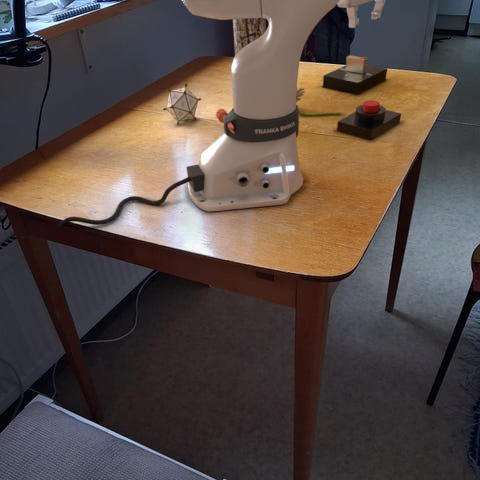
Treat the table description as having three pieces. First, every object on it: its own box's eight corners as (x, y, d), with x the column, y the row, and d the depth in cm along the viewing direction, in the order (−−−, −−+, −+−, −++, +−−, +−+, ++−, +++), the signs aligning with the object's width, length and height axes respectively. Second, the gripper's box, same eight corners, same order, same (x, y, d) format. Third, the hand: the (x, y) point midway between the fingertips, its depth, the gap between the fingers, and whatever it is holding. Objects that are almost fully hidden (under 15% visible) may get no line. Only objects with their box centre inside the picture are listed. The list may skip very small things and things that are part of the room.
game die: (179, 137, 122) (149, 106, 116) (194, 113, 125) (165, 83, 119) (199, 126, 115) (168, 93, 110) (214, 101, 118) (185, 68, 112)
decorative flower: (341, 80, 113) (277, 84, 114) (341, 107, 113) (277, 110, 114) (336, 97, 121) (277, 100, 122) (337, 122, 121) (277, 124, 122)
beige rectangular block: (345, 70, 131) (346, 55, 128) (348, 69, 132) (350, 54, 129) (362, 74, 128) (364, 58, 125) (365, 72, 129) (367, 57, 126)
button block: (370, 140, 105) (373, 122, 102) (336, 130, 110) (338, 113, 107) (399, 123, 111) (402, 105, 108) (366, 114, 116) (368, 97, 113)
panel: (356, 95, 126) (358, 82, 123) (322, 87, 131) (323, 74, 129) (385, 80, 132) (387, 67, 130) (352, 73, 138) (353, 61, 136)
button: (372, 115, 106) (373, 107, 105) (359, 111, 108) (359, 103, 107) (381, 110, 108) (382, 102, 107) (368, 106, 110) (369, 98, 109)
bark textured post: (265, 131, 112) (262, 5, 95) (236, 130, 113) (228, 6, 96) (269, 120, 117) (267, -2, 100) (242, 119, 118) (235, -1, 101)
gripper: (385, -55, 113) (377, 13, 122) (333, -44, 103) (328, 30, 112) (409, -55, 110) (399, 16, 119) (358, -43, 99) (351, 33, 109)
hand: (364, 23), depth 115 cm, fingers open, 8 cm apart
